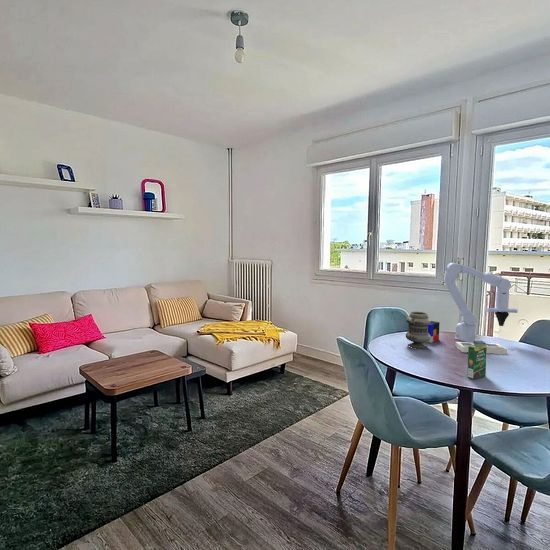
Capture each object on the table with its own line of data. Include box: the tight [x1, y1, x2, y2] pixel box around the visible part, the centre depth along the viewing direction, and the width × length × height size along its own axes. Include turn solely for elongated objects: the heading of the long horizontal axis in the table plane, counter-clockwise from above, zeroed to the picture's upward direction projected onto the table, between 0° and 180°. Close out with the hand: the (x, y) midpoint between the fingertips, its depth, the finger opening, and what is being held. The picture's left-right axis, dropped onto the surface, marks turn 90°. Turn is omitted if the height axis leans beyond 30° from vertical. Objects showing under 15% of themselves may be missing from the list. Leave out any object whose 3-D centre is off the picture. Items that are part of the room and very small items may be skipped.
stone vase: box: [405, 310, 432, 350], centre depth 183 cm, size 12×12×18 cm
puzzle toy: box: [427, 320, 440, 343], centre depth 198 cm, size 10×10×10 cm
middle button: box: [473, 340, 487, 345], centre depth 179 cm, size 4×4×2 cm
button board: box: [455, 341, 508, 355], centre depth 178 cm, size 20×10×3 cm, turn 81°
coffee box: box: [466, 343, 487, 380], centre depth 141 cm, size 8×3×13 cm, turn 117°
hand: (501, 325), depth 190 cm, fingers closed
